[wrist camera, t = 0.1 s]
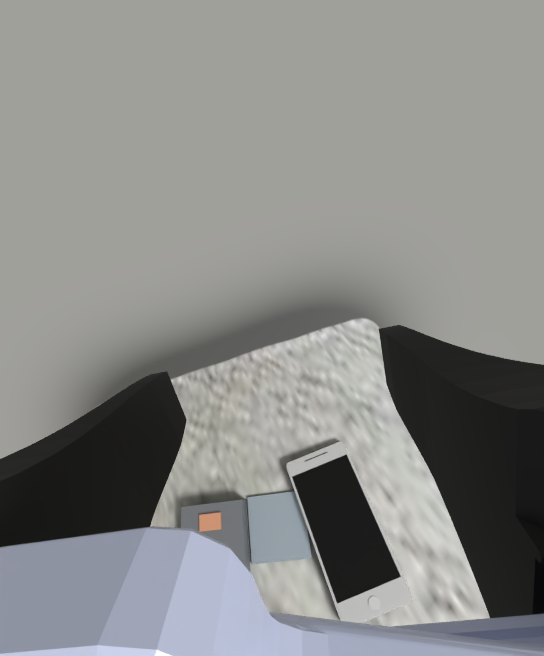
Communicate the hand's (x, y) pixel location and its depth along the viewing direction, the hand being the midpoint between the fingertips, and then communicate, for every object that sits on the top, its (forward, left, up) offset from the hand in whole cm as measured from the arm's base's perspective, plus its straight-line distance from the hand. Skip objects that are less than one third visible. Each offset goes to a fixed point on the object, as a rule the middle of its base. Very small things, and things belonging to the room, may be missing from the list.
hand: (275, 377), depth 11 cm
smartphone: (-6, 0, -32) cm, 33 cm away
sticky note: (-6, +7, -32) cm, 33 cm away
